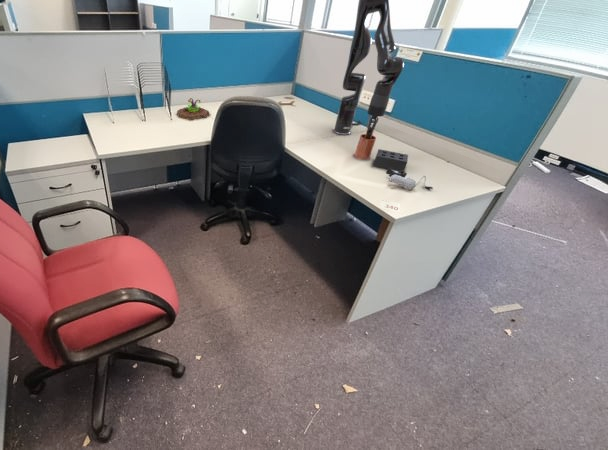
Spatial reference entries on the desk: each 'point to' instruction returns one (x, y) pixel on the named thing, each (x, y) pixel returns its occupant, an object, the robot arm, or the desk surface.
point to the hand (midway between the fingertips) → (367, 139)
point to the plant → (192, 111)
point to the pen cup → (364, 147)
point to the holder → (390, 160)
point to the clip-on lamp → (403, 179)
